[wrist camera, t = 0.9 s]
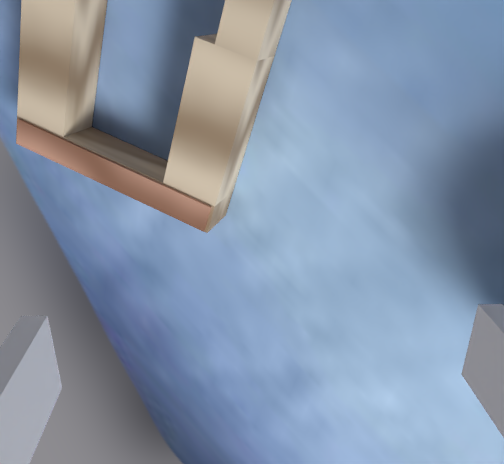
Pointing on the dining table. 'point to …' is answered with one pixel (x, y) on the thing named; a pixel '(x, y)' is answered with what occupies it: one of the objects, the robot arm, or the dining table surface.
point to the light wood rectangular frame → (189, 116)
